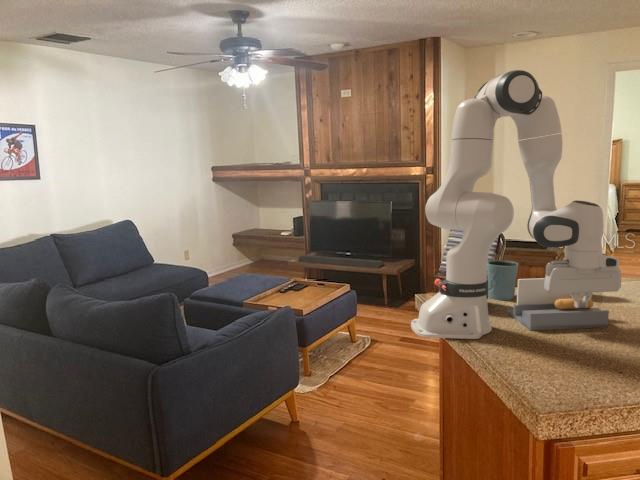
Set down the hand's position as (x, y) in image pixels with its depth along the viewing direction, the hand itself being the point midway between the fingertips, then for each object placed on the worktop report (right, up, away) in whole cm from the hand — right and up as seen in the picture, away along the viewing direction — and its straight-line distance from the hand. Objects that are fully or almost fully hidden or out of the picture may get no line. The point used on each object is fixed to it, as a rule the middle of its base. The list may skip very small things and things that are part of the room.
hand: (580, 307), depth 143 cm
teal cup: (-11, -1, +33) cm, 34 cm away
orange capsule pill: (0, +1, +4) cm, 4 cm away
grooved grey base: (-4, -5, +7) cm, 9 cm away
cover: (-4, +4, +9) cm, 10 cm away
